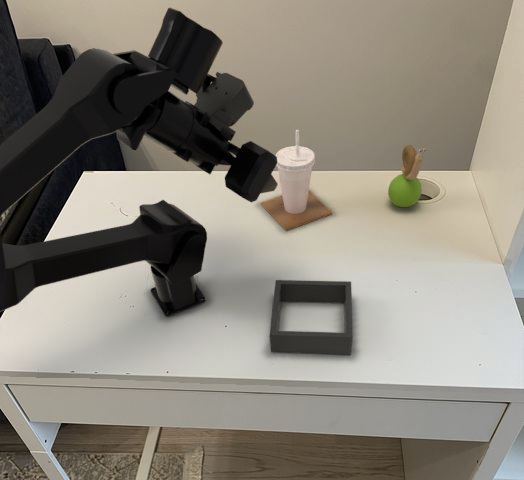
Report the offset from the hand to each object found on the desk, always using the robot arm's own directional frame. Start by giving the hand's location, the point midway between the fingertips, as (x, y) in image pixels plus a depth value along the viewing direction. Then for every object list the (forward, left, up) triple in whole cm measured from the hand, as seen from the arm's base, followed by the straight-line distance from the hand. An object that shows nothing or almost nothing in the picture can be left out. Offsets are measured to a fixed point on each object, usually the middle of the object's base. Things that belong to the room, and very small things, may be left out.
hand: (254, 174), depth 77 cm
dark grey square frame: (-18, +1, -14) cm, 23 cm away
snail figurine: (-2, -27, -14) cm, 30 cm away
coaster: (+7, -11, -14) cm, 18 cm away
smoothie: (+7, -10, -13) cm, 18 cm away
